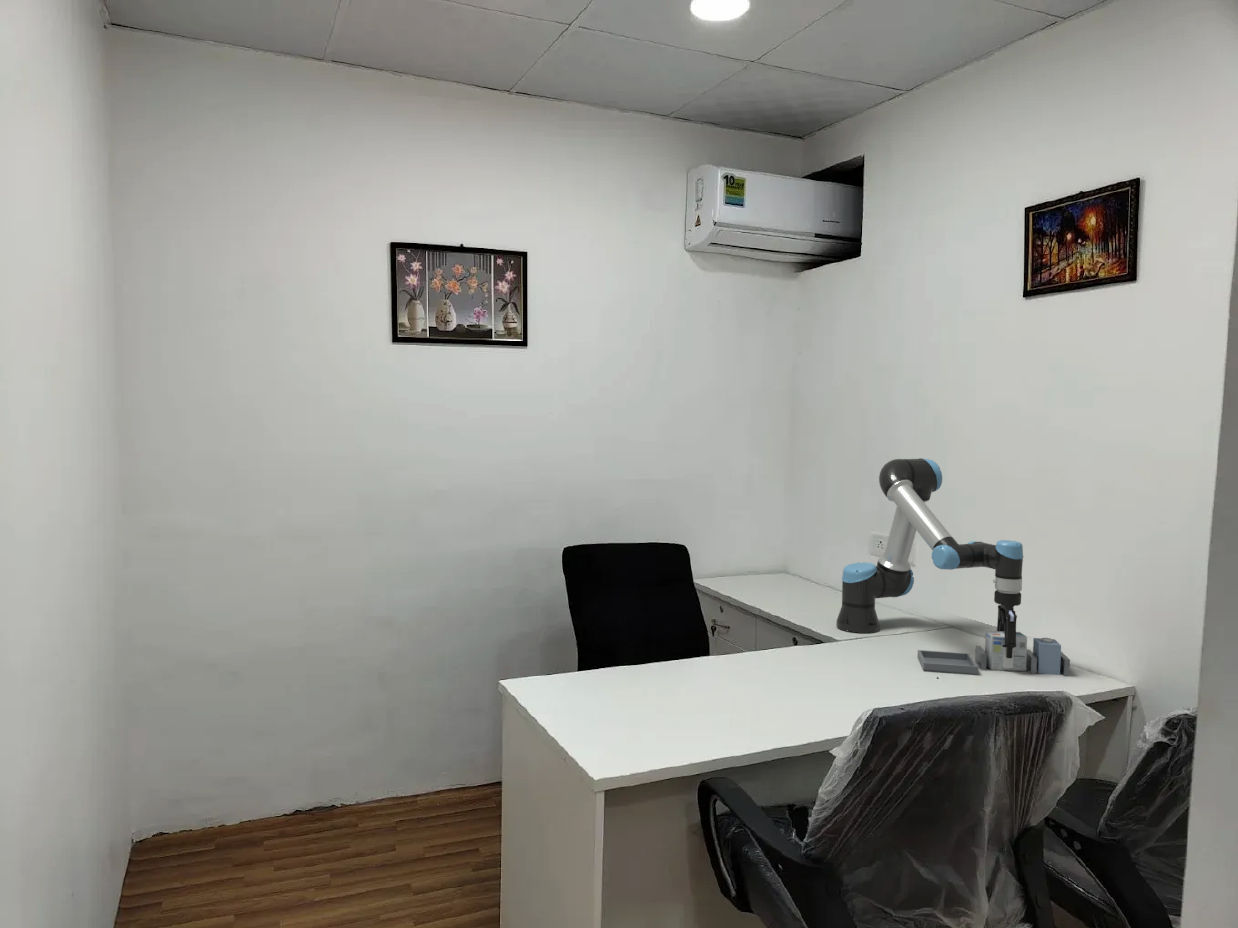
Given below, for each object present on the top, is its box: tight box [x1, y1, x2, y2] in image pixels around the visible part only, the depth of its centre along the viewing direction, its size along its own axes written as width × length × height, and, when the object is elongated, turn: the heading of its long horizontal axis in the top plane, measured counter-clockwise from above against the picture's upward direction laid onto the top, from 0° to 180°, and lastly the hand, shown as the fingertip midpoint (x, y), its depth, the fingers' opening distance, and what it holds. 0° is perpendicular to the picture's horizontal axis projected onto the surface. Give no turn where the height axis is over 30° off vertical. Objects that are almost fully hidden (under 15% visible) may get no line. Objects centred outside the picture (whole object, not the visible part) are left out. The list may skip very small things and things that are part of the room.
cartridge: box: [1032, 637, 1062, 675], centre depth 258 cm, size 7×6×10 cm
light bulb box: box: [984, 630, 1028, 672], centre depth 260 cm, size 11×7×11 cm, turn 84°
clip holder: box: [974, 645, 1071, 677], centre depth 259 cm, size 9×25×5 cm, turn 77°
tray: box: [916, 649, 979, 676], centre depth 261 cm, size 15×16×2 cm
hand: (1005, 663), depth 260 cm, fingers closed on light bulb box, 7 cm apart
